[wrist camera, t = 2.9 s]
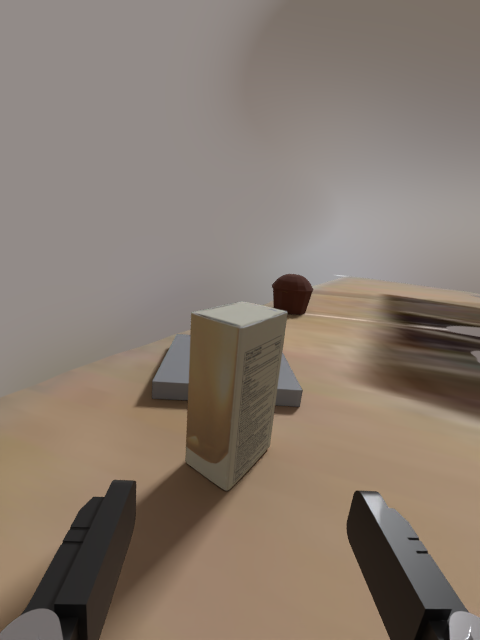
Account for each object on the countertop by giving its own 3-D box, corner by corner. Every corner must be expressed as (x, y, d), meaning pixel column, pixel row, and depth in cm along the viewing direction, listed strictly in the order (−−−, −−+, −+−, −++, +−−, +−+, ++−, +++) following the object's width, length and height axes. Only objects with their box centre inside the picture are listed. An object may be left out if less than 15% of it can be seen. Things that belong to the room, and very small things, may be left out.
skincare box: (231, 426, 27) (244, 299, 24) (271, 448, 25) (291, 310, 21) (180, 464, 22) (187, 309, 19) (224, 496, 19) (241, 324, 16)
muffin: (305, 318, 73) (312, 279, 71) (264, 311, 77) (269, 273, 74) (311, 310, 84) (317, 276, 82) (275, 304, 88) (279, 271, 85)
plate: (274, 352, 47) (276, 341, 46) (299, 406, 32) (302, 390, 31) (176, 345, 46) (176, 334, 45) (152, 398, 30) (152, 381, 30)
